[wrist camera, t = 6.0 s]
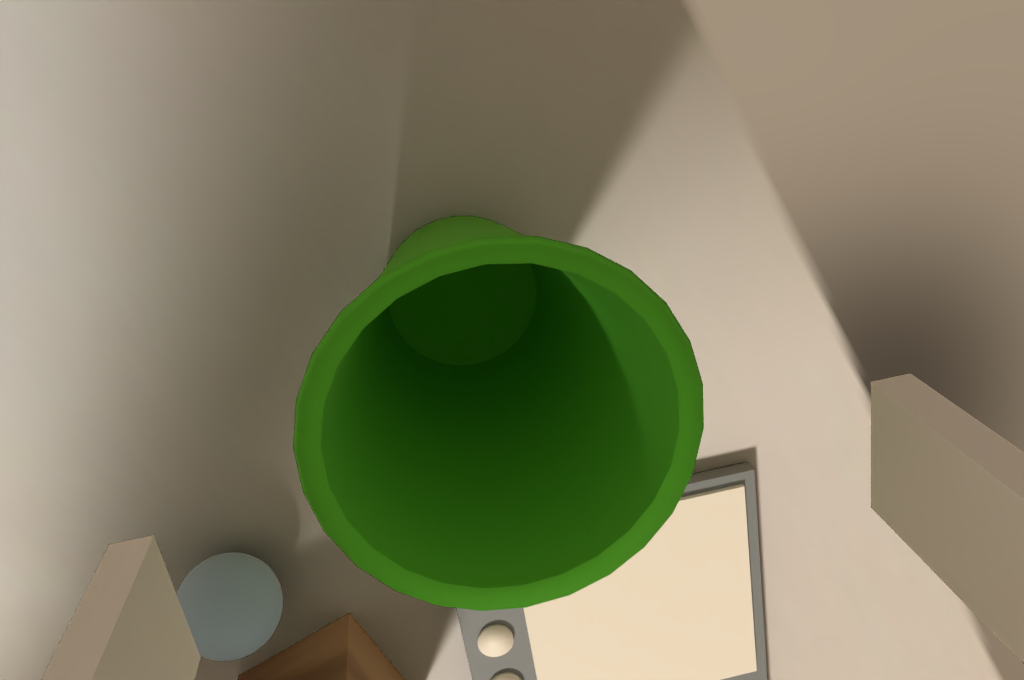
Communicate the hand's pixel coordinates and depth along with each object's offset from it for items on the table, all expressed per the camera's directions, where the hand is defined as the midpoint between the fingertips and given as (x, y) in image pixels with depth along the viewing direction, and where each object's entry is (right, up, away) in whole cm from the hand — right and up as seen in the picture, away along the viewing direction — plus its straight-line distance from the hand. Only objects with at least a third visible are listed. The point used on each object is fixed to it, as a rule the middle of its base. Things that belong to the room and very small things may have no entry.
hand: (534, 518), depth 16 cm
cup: (-2, +5, +13) cm, 14 cm away
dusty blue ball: (-10, -5, +16) cm, 20 cm away
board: (+5, -16, +22) cm, 28 cm away
